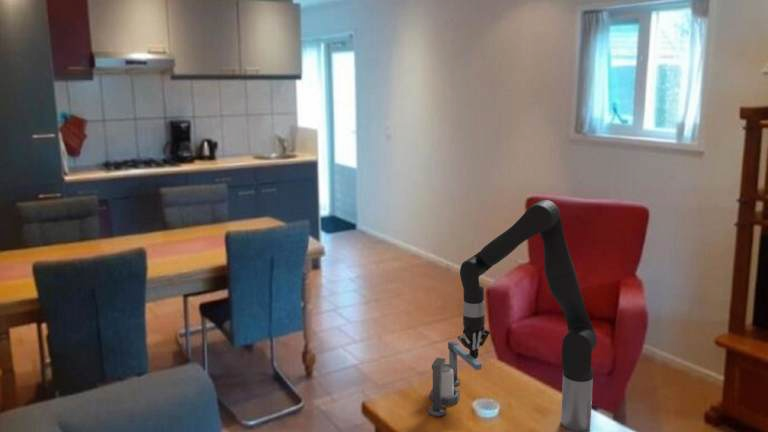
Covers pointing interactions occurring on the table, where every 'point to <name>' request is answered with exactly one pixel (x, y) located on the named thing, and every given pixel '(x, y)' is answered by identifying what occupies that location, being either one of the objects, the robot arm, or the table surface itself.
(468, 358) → the swing arm
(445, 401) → the collar
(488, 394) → the table surface
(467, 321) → the robot arm
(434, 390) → the dark grey piece
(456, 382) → the pivot post
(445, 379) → the can
